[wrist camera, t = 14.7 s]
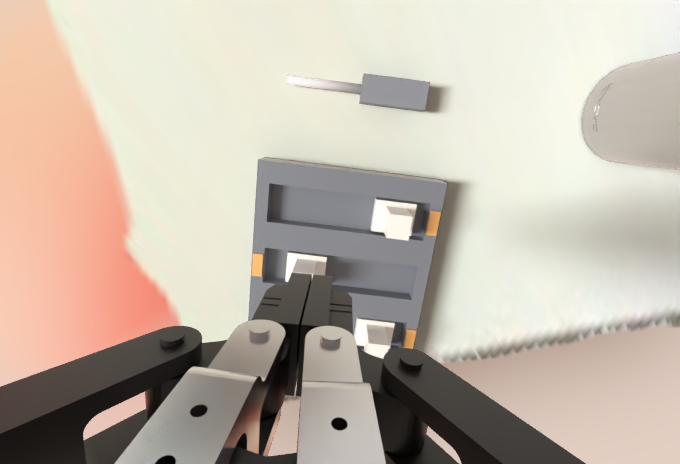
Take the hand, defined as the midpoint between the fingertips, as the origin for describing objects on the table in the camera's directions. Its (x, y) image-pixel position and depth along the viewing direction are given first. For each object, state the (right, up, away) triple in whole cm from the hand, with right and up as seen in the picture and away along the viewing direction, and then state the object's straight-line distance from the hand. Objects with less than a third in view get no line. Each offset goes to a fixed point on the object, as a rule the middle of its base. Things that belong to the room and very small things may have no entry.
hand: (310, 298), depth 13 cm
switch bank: (+1, -1, +26) cm, 26 cm away
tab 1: (-2, -1, +25) cm, 25 cm away
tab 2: (+6, +4, +23) cm, 24 cm away
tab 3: (+5, -8, +27) cm, 28 cm away
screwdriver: (+3, +16, +22) cm, 27 cm away
